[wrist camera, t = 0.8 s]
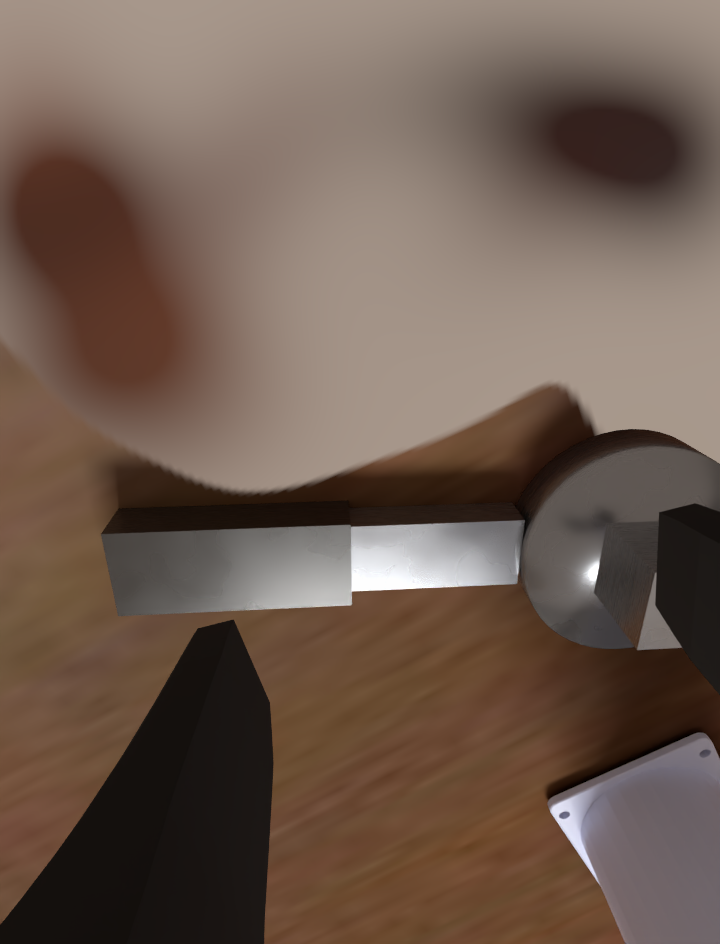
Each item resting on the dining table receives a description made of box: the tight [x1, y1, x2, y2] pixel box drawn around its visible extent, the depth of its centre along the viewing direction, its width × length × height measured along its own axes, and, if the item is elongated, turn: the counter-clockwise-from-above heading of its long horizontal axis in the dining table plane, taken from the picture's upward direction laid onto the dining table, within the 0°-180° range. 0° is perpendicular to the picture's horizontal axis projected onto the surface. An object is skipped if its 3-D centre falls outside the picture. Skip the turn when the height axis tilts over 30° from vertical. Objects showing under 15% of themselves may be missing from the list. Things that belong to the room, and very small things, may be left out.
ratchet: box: [101, 429, 720, 650], centre depth 19 cm, size 22×8×5 cm, turn 90°
